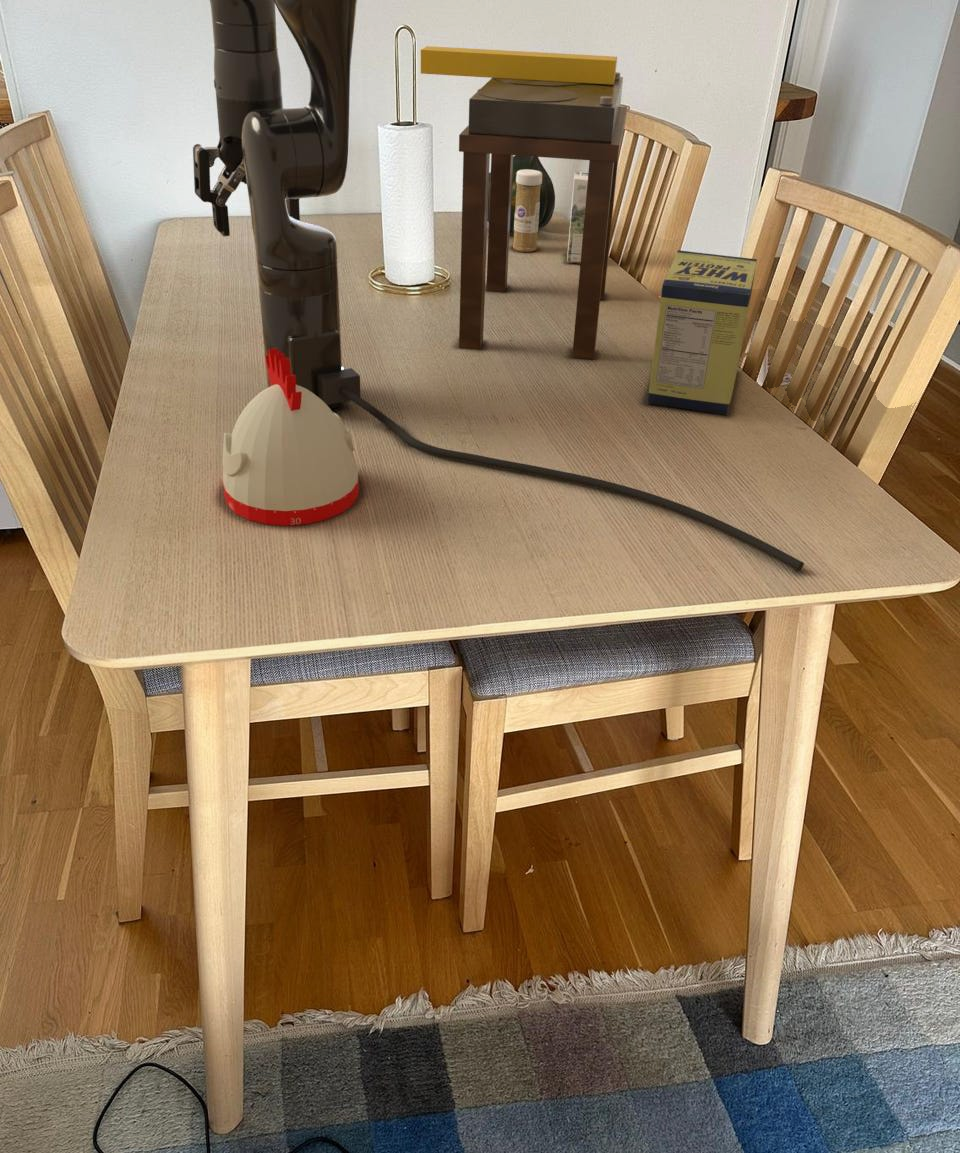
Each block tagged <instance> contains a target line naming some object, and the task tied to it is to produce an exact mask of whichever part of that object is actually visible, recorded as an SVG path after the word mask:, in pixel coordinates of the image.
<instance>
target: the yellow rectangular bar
mask: <svg viewBox="0 0 960 1153" xmlns="http://www.w3.org/2000/svg"><path fill="white" fill-rule="evenodd" d="M617 64H618V56H610V55H596V54H595V55H593V54H578V53H577V54H575V53H556V52H539V51H523V50H522V51H521V50H520V51H519V50H506V49H505V50H504V49H486V48H470V47H469V48H467V47H450V46H433V45H432V46H430V45H427V46H425V47H422V48H421V49H420V74H422V75H424V74H425V75H439V76H455V77H473V78H487V79H488V78H489V79H491V78H505V79H522V80H539V81H556V82H573V83H590V84H607V85H614V82H615V75H616V72H617Z"/></svg>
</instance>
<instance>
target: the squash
mask: <svg viewBox="0 0 960 1153" xmlns="http://www.w3.org/2000/svg"><path fill="white" fill-rule="evenodd" d="M525 169H528V170H537V171H540V172H541V173H542V184H541V187H540V208H539V223H538V230H540V229H542V228H545V226H547V225H548V223H549V222H550V221H551V220H552V217H553V214H554V211H555V209H556V208H555V207H556V192H555V187H554V183H553V181H552V178H551V177H550V175H549V173H548V172H547V170H546V169H545V167H544V164H542V162H541V160H540V157H532V156H518V155H513V171H512V191H511V212H510V232H509V234H511V235H514V219H515V208H516V191H517V183H516V175H517V171H519V170H525ZM490 177H491V171H489V191H488V219H487V223H489V204H490Z"/></svg>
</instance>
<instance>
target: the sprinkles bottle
mask: <svg viewBox="0 0 960 1153" xmlns="http://www.w3.org/2000/svg"><path fill="white" fill-rule="evenodd" d="M516 183H517V191H516V208H515V219H514V234H513V244H512V248H513V249H514V250H515V251H517V252H524V253H526V252H527V253H529V252H530V253H531V252H534V251H536V250H537V249H538V232H539V229H538V223H539V208H540V187H541V184H542V173H541V172H540V171H537V170H528V169H525V170H519V171H517V175H516Z"/></svg>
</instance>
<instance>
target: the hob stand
mask: <svg viewBox="0 0 960 1153" xmlns="http://www.w3.org/2000/svg"><path fill="white" fill-rule="evenodd" d="M623 82H624V77H623V76H621V72H617V71H616V75H615V82H614V85H607V84H590V83H573V82H556V81H539V80H522V79H505V78H489V80H488V81H487V82H486V83H484V85H482V87H480V88H478V89H477V92H475V93H473V95H472V96H471V97H470V98H469V100H468V124H467V126H466V127H465V128H464V129H463V130H461V132H460V133H459V135H458V152H460V153H462V154H463V155H462V195H461V196H462V197H461V198H462V199H461V241H460V280H459V281H460V282H459V288H460V289H459V327H458V328H459V329H458V348H460V349H469V350H470V349H471V350H481V347H482V345H483V343H484V326H485V301H486V300H485V298H486V296H485V295H486V291H487V292H499V293H505V292H506V290H507V288H508V269H509V251H510V250H509V249H510V233H509V232H510V212H511V191H512V171H513V156H515V155H518V156H532V157H538V158H547V159H549V158H550V159H564V160H578V161H588V162H589V163H588V171H587V172H588V183H587V194H586V206H585V217H584V228H583V240H582V251H581V262H580V264H579V276H578V287H577V295H576V296H577V298H576V307H575V319H574V333H573V342H572V344H573V345H572V356H571V358H572V359H573V358H574V359H584V360H594V359H595V353H596V344H597V334H598V327H599V326H598V324H599V315H600V305H601V301H604V298H605V292H606V282H607V272H608V262H609V253H610V245H611V244H610V242H611V233H612V224H613V214H614V205H615V197H616V196H615V195H616V186H617V176H618V165H619V157H620V151H621V147H622V141H623V136H624V132H625V127H626V122H627V121H626V120H627V114H628V106H621V103H622V93H623ZM490 155H491V156H490ZM490 172H491V177H490V204H489V222H487V219H488V191H489V173H490Z"/></svg>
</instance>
